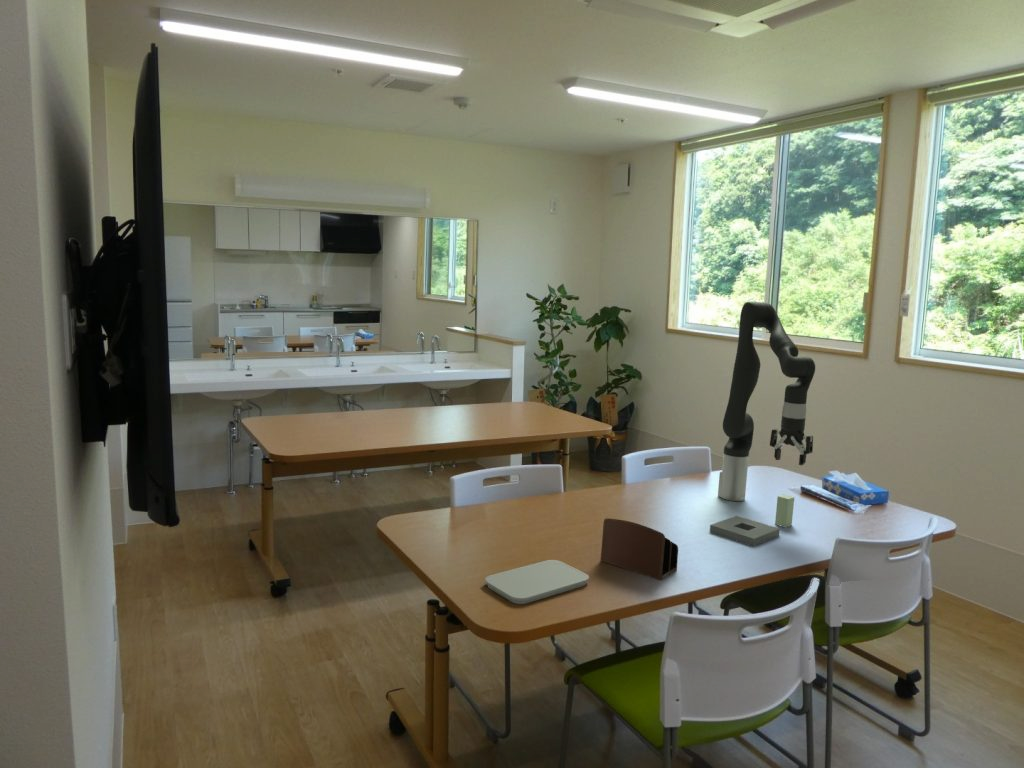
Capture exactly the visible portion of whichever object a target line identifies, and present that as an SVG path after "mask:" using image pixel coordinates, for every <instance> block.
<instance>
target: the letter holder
mask: <svg viewBox="0 0 1024 768" xmlns="http://www.w3.org/2000/svg"><path fill="white" fill-rule="evenodd" d="M601 539H602V540H601V551H600V562H602V563H605V564H609V565H611V566H615V567H618V568H621V569H624V570H627V571H631V572H634V573H636V574H640V575H643V576H646V577H649V578H651V579H656V580H658V581H662V580H663V579H665V578H667V577H668V576H670V575H671V574H673V573H675V572H676V571H677V570H678V559H679V546H678V545H677V544H676V543H674V542H673V541H671V540H670V539H669V538H667V537H666V536H665V534H664V533H662V532H660V531H658V530H656V529H653V528H651V527H649V526H646V525H643V524H639V523H637V522H633V521H628V520H624V519H623V520H622V519H616V518H608V517H607V518H605V519H604V520H603V527H602V538H601Z"/></svg>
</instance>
